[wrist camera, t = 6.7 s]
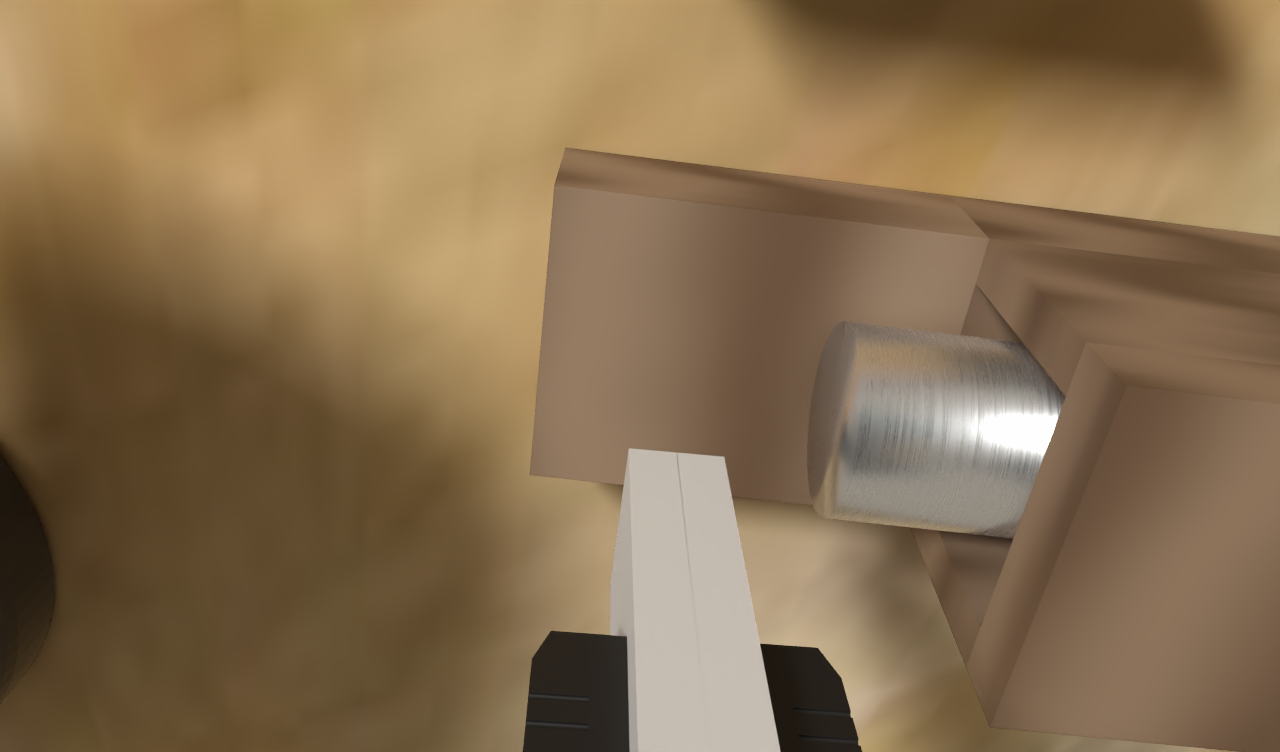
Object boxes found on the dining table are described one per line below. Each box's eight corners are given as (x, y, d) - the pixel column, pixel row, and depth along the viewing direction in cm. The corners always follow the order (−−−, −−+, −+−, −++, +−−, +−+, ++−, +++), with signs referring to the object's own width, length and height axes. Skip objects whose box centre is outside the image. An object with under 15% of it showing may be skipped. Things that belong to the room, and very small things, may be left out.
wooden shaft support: (542, 412, 26) (489, 678, 17) (565, 147, 22) (515, 315, 14) (1240, 489, 26) (1517, 779, 18) (1358, 246, 23) (1763, 460, 15)
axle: (799, 442, 23) (824, 559, 19) (838, 287, 20) (874, 387, 17) (1535, 525, 23) (1686, 651, 20) (1643, 385, 21) (1831, 498, 18)
